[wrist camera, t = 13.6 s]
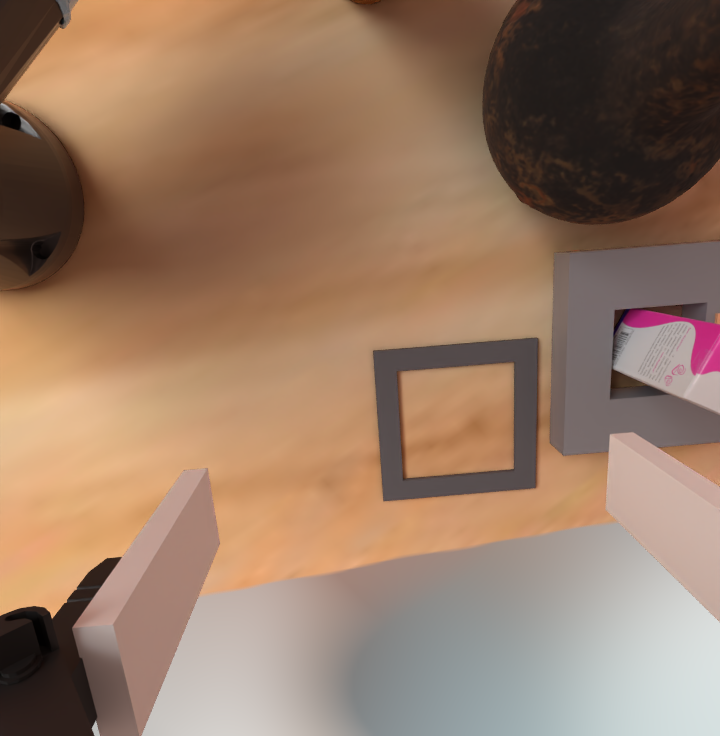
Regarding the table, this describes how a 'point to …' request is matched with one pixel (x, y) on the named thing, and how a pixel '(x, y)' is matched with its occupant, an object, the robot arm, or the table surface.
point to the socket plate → (595, 343)
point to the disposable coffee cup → (366, 1)
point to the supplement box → (670, 355)
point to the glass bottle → (604, 104)
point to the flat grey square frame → (452, 356)
